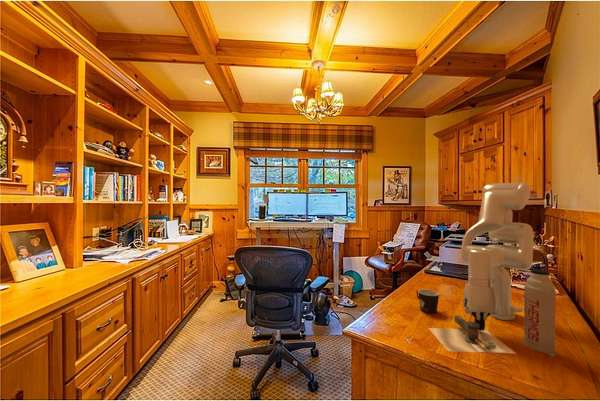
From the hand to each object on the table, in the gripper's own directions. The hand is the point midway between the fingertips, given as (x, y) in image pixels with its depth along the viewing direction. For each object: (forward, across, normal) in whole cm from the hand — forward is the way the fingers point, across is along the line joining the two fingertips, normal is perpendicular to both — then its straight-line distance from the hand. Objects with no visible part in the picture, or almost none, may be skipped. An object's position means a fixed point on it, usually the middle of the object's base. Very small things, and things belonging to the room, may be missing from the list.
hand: (479, 328), depth 102 cm
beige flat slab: (+3, +7, +6) cm, 10 cm away
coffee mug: (+3, +11, -20) cm, 23 cm away
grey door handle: (0, +6, +5) cm, 8 cm away
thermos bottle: (+3, -15, +9) cm, 17 cm away
